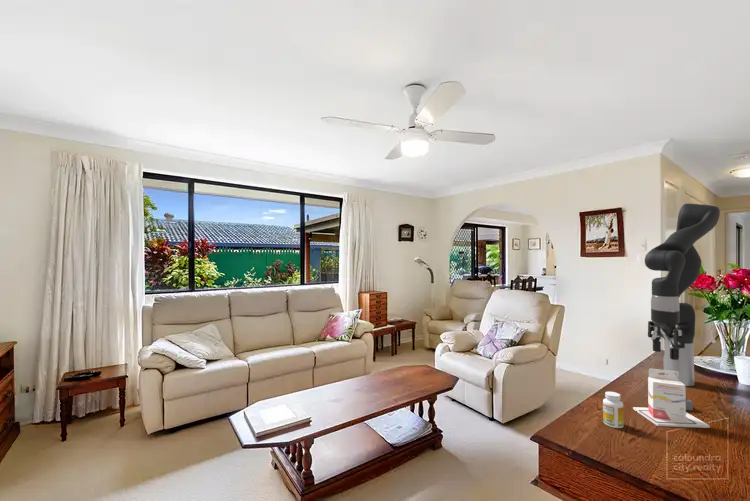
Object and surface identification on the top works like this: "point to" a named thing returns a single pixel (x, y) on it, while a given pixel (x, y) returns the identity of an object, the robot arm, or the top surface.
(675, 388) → the ink cartridge box
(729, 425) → the top surface
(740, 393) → the top surface
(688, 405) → the button housing
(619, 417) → the supplement bottle
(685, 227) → the robot arm
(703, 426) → the sheet
